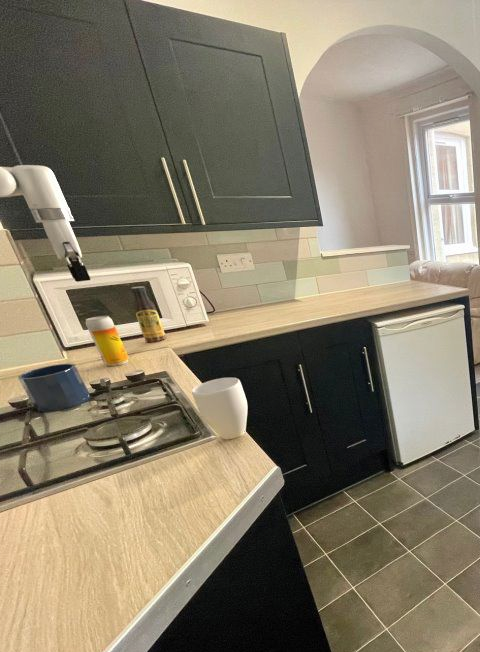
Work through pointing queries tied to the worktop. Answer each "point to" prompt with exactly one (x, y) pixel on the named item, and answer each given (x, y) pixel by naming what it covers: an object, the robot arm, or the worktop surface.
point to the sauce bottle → (147, 316)
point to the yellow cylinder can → (107, 340)
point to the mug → (222, 406)
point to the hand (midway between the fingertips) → (82, 279)
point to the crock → (55, 387)
